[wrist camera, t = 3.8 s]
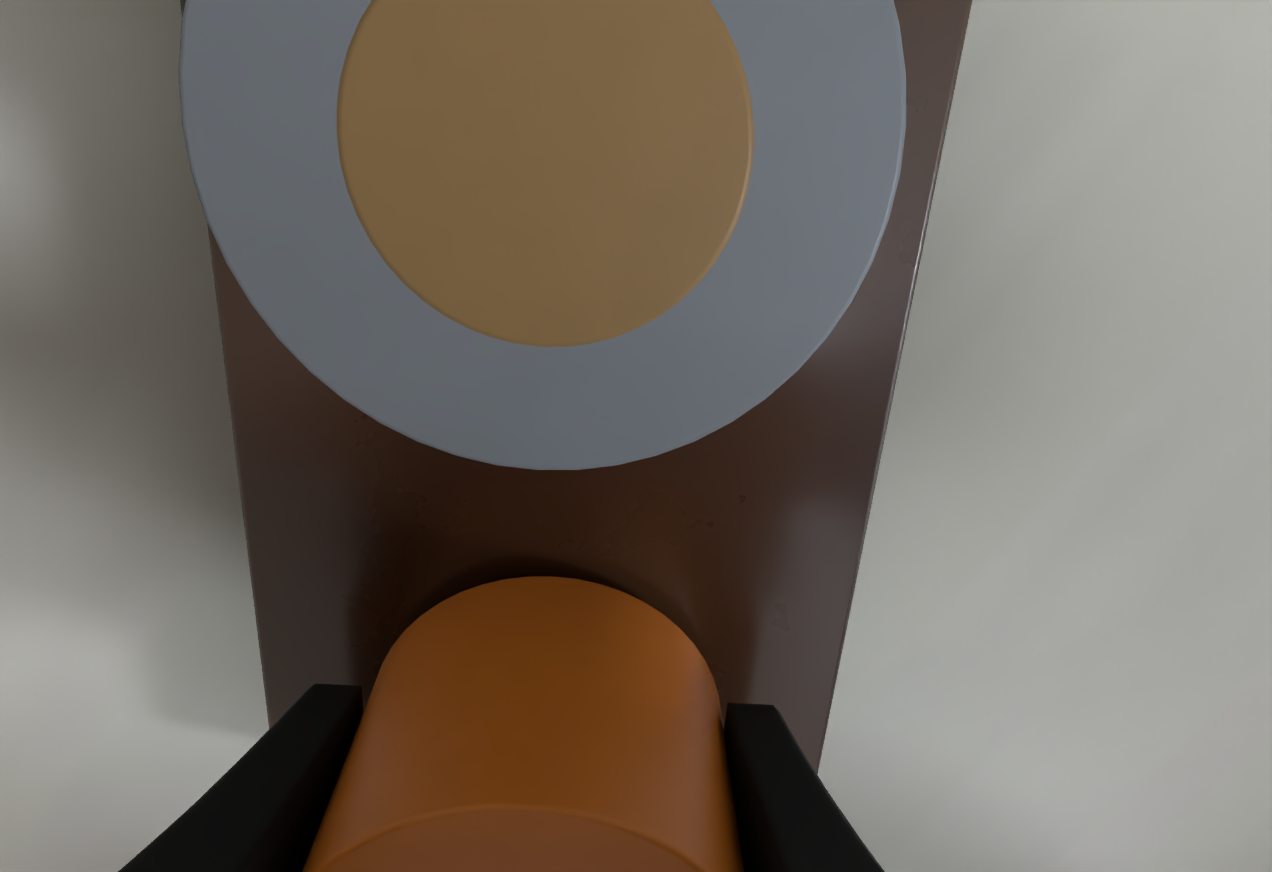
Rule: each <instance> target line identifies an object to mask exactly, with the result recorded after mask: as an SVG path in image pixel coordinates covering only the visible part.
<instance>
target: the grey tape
mask: <svg viewBox="0 0 1272 872" xmlns="http://www.w3.org/2000/svg"><path fill="white" fill-rule="evenodd" d="M179 84H180V99H181V115H182V125H183V131H184V136H185V141H186V146H187V152H188V157H189V162H190V167H191V172H192V175H193V179H194V182H195V185H196V188H197V191H198V194H199V197H200V201H201V204H202V207H203V210H204V213H205V216H206V219H207V221H208V224H209V226H210V228H211V230H212V232H213V235H214V237H215V239H216V241H217V243H218V246H219V248H220V250H221V252H222V254H223V257H224V259H225V261H226V263H227V265H228V266H229V268H230V270H231V271H232V273H233V275H234V276H235V278H236V280H237V281H238V283H239V285H240V286H241V288H242V290H243V291H244V293H245V295H246V296H247V298H248V300H249V301H250V303H251V304H252V306H253V307H254V308H255V309H256V311H257V312H258V313H259V315H260V316H261V317H262V319H263V320H264V321H265V322H266V324H267V325H268V326H269V328H270V329H271V330H272V332H273V333H274V334H275V335H276V337H277V338H278V339H279V340H280V341H281V342H282V343H283V344H284V346H285V347H286V348H287V349H288V350H289V351H290V352H291V353H292V354H293V355H294V356H295V357H296V358H297V359H298V360H299V361H300V362H301V363H302V364H303V365H304V366H305V367H306V368H307V369H308V370H309V371H310V372H311V373H312V374H313V375H315V376H316V377H317V378H318V379H319V380H321V381H322V382H323V383H324V384H326V385H327V386H328V387H329V388H330V389H332V390H333V391H334V392H335V393H337V394H338V395H339V396H340V397H341V398H343V399H344V400H345V401H347V402H348V403H350V404H352V405H353V406H355V407H356V408H358V409H359V410H361V411H362V412H364V413H365V414H367V415H369V416H370V417H372V418H373V419H375V420H376V421H378V422H379V423H381V424H383V425H385V426H387V427H389V428H391V429H393V430H395V431H397V432H399V433H401V434H403V435H405V436H407V437H409V438H411V439H413V440H415V441H417V442H420V443H423V444H426V445H428V446H431V447H434V448H437V449H439V450H442V451H445V452H448V453H451V454H453V455H456V456H460V457H464V458H468V459H472V460H477V461H481V462H485V463H490V464H494V465H499V466H508V467H516V468H525V469H534V470H581V469H589V468H598V467H606V466H614V465H620V464H624V463H628V462H632V461H637V460H641V459H645V458H649V457H653V456H657V455H660V454H662V453H665V452H668V451H670V450H673V449H676V448H678V447H681V446H684V445H686V444H689V443H692V442H694V441H696V440H698V439H700V438H702V437H704V436H706V435H708V434H710V433H712V432H714V431H716V430H718V429H720V428H721V427H723V426H725V425H727V424H729V423H731V422H733V421H734V420H736V419H737V418H738V417H740V416H741V415H743V414H744V413H746V412H747V411H749V410H750V409H752V408H753V407H755V406H756V405H757V404H759V403H760V402H762V401H763V400H765V399H766V398H767V397H768V396H770V395H771V394H772V393H773V392H774V391H775V390H776V389H778V388H779V387H780V386H781V385H782V384H783V383H784V382H785V381H787V380H788V379H789V378H790V377H791V376H792V375H793V374H795V373H796V372H797V371H798V370H799V369H800V368H801V366H802V365H803V364H804V363H805V362H806V361H807V360H808V359H809V358H810V356H811V355H812V354H813V353H814V352H815V351H816V350H817V349H818V347H819V346H820V345H821V344H822V343H823V342H824V341H825V340H826V338H827V337H828V335H829V334H830V333H831V331H832V330H833V328H834V327H835V325H836V324H837V323H838V321H839V320H840V318H841V317H842V315H843V314H844V312H845V311H846V310H847V308H848V307H849V305H850V304H851V302H852V300H853V298H854V297H855V295H856V293H857V291H858V289H859V287H860V285H861V283H862V281H863V280H864V278H865V276H866V274H867V272H868V270H869V268H870V266H871V264H872V262H873V260H874V257H875V255H876V252H877V249H878V247H879V244H880V241H881V239H882V236H883V234H884V231H885V228H886V226H887V223H888V220H889V217H890V213H891V209H892V205H893V201H894V197H895V193H896V189H897V185H898V181H899V176H900V171H901V163H902V155H903V147H904V138H905V130H906V71H905V63H904V56H903V48H902V40H901V32H900V25H899V20H898V16H897V12H896V9H895V5H894V1H893V0H186V2H185V7H184V12H183V17H182V27H181V43H180V59H179Z"/></svg>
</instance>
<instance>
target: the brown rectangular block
mask: <svg viewBox="0 0 1272 872" xmlns="http://www.w3.org/2000/svg"><path fill="white" fill-rule="evenodd" d="M893 1H894V5H895V9H896V12H897V16H898V20H899V25H900V32H901V40H902V48H903V56H904V63H905V71H906V130H905V138H904V147H903V155H902V163H901V171H900V176H899V181H898V185H897V189H896V193H895V197H894V201H893V205H892V209H891V213H890V217H889V220H888V223H887V226H886V228H885V231H884V234H883V236H882V239H881V241H880V244H879V247H878V249H877V252H876V255H875V257H874V260H873V262H872V264H871V266H870V268H869V270H868V272H867V274H866V276H865V278H864V280H863V281H862V283H861V285H860V287H859V289H858V291H857V293H856V295H855V297H854V298H853V300H852V302H851V304H850V305H849V307H848V308H847V310H846V311H845V312H844V314H843V315H842V317H841V318H840V320H839V321H838V323H837V324H836V325H835V327H834V328H833V330H832V331H831V333H830V334H829V335H828V337H827V338H826V340H825V341H824V342H823V343H822V344H821V345H820V346H819V347H818V349H817V350H816V351H815V352H814V353H813V354H812V355H811V356H810V358H809V359H808V360H807V361H806V362H805V363H804V364H803V365H802V366H801V368H800V369H799V370H798V371H797V372H796V373H795V374H793V375H792V376H791V377H790V378H789V379H788V380H787V381H785V382H784V383H783V384H782V385H781V386H780V387H779V388H778V389H776V390H775V391H774V392H773V393H772V394H771V395H770V396H768V397H767V398H766V399H765V400H763V401H762V402H760V403H759V404H757V405H756V406H755V407H753V408H752V409H750V410H749V411H747V412H746V413H744V414H743V415H741V416H740V417H738V418H737V419H736V420H734V421H733V422H731V423H729V424H727V425H725V426H723V427H721V428H720V429H718V430H716V431H714V432H712V433H710V434H708V435H706V436H704V437H702V438H700V439H698V440H696V441H694V442H692V443H689V444H686V445H684V446H681V447H678V448H676V449H673V450H670V451H668V452H665V453H662V454H660V455H657V456H653V457H649V458H645V459H641V460H637V461H632V462H628V463H624V464H620V465H614V466H606V467H598V468H589V469H581V470H534V469H525V468H516V467H508V466H499V465H494V464H490V463H485V462H481V461H477V460H472V459H468V458H464V457H460V456H456V455H453V454H451V453H448V452H445V451H442V450H439V449H437V448H434V447H431V446H428V445H426V444H423V443H420V442H417V441H415V440H413V439H411V438H409V437H407V436H405V435H403V434H401V433H399V432H397V431H395V430H393V429H391V428H389V427H387V426H385V425H383V424H381V423H379V422H378V421H376V420H375V419H373V418H372V417H370V416H369V415H367V414H365V413H364V412H362V411H361V410H359V409H358V408H356V407H355V406H353V405H352V404H350V403H348V402H347V401H345V400H344V399H343V398H341V397H340V396H339V395H338V394H337V393H335V392H334V391H333V390H332V389H330V388H329V387H328V386H327V385H326V384H324V383H323V382H322V381H321V380H319V379H318V378H317V377H316V376H315V375H313V374H312V373H311V372H310V371H309V370H308V369H307V368H306V367H305V366H304V365H303V364H302V363H301V362H300V361H299V360H298V359H297V358H296V357H295V356H294V355H293V354H292V353H291V352H290V351H289V350H288V349H287V348H286V347H285V346H284V344H283V343H282V342H281V341H280V340H279V339H278V338H277V337H276V335H275V334H274V333H273V332H272V330H271V329H270V328H269V326H268V325H267V324H266V322H265V321H264V320H263V319H262V317H261V316H260V315H259V313H258V312H257V311H256V309H255V308H254V307H253V306H252V304H251V303H250V301H249V300H248V298H247V296H246V295H245V293H244V291H243V290H242V288H241V286H240V285H239V283H238V281H237V280H236V278H235V276H234V275H233V273H232V271H231V270H230V268H229V266H228V265H227V263H226V261H225V259H224V257H223V254H222V252H221V250H220V248H219V246H218V243H217V241H216V239H215V237H214V235H213V232H212V230H211V228H210V226H209V224H208V231H209V239H210V247H211V255H212V264H213V272H214V280H215V288H216V296H217V304H218V313H219V321H220V329H221V337H222V345H223V353H224V362H225V370H226V378H227V386H228V394H229V402H230V411H231V419H232V427H233V435H234V443H235V451H236V460H237V468H238V476H239V484H240V492H241V500H242V509H243V517H244V525H245V533H246V541H247V549H248V558H249V566H250V574H251V582H252V590H253V598H254V607H255V615H256V623H257V631H258V639H259V648H260V656H261V664H262V672H263V680H264V688H265V696H266V705H267V713H268V721H269V729H270V728H271V727H272V726H273V725H274V724H275V723H276V722H277V721H278V720H279V719H280V718H281V717H282V716H283V715H284V713H285V712H286V711H287V710H288V709H289V708H290V707H291V706H292V705H293V704H294V703H295V702H296V701H297V700H298V699H299V698H300V697H301V696H302V695H303V694H304V692H305V691H306V690H308V689H309V688H310V687H311V686H312V685H314V684H335V685H357V686H362V696H363V711H364V710H365V707H366V705H367V702H368V699H369V697H370V694H371V692H372V689H373V686H374V684H375V681H376V679H377V676H378V674H379V671H380V668H381V666H382V663H383V661H384V660H385V658H386V656H387V654H388V653H389V651H390V649H391V647H392V646H393V644H394V643H395V642H396V641H397V640H398V638H399V637H400V636H401V635H402V633H403V632H404V631H405V630H406V629H407V628H408V627H409V626H410V625H411V624H412V623H413V622H414V621H416V620H417V619H418V618H419V617H420V616H421V615H423V614H424V613H426V612H427V611H428V610H430V609H431V608H433V607H434V606H436V605H437V604H439V603H440V602H442V601H444V600H446V599H448V598H450V597H452V596H454V595H456V594H458V593H460V592H462V591H465V590H468V589H471V588H473V587H476V586H479V585H482V584H486V583H490V582H495V581H499V580H503V579H510V578H519V577H527V576H556V577H565V578H574V579H580V580H585V581H589V582H594V583H598V584H602V585H605V586H608V587H611V588H614V589H617V590H620V591H622V592H625V593H627V594H629V595H631V596H633V597H635V598H637V599H639V600H641V601H643V602H645V603H647V604H648V605H650V606H651V607H653V608H654V609H656V610H658V611H659V612H661V613H662V614H664V615H665V616H666V617H667V618H668V619H670V620H671V621H672V622H673V623H674V624H675V625H677V626H678V627H679V628H680V629H681V630H682V631H683V632H684V633H685V634H686V636H687V637H688V638H689V639H690V640H691V641H692V642H693V643H694V644H695V646H696V647H697V649H698V650H699V652H700V653H701V655H702V656H703V658H704V659H705V661H706V663H707V665H708V667H709V669H710V672H711V674H712V676H713V678H714V681H715V685H716V688H717V692H718V695H719V701H720V708H721V715H722V722H723V729H724V724H725V717H726V710H727V703H745V704H766V705H774V706H775V707H776V708H777V710H778V711H779V712H780V713H781V715H782V717H783V719H784V720H785V722H786V724H787V726H788V728H789V729H790V731H791V733H792V734H793V736H794V738H795V740H796V741H797V743H798V745H799V746H800V748H801V750H802V751H803V753H804V755H805V756H806V758H807V760H808V761H809V763H810V764H811V766H812V768H813V769H814V771H815V772H816V774H817V773H818V768H819V764H820V759H821V754H822V749H823V744H824V739H825V734H826V729H827V724H828V719H829V714H830V709H831V704H832V699H833V694H834V689H835V684H836V679H837V674H838V669H839V664H840V659H841V654H842V649H843V644H844V639H845V634H846V629H847V624H848V619H849V614H850V609H851V604H852V599H853V594H854V589H855V584H856V579H857V574H858V569H859V564H860V559H861V554H862V549H863V544H864V539H865V534H866V529H867V524H868V519H869V514H870V509H871V504H872V499H873V494H874V489H875V484H876V479H877V474H878V469H879V464H880V459H881V454H882V449H883V444H884V439H885V434H886V429H887V424H888V419H889V414H890V409H891V404H892V399H893V394H894V389H895V384H896V379H897V374H898V369H899V364H900V359H901V354H902V349H903V344H904V339H905V334H906V329H907V324H908V319H909V314H910V309H911V304H912V299H913V294H914V289H915V284H916V279H917V274H918V269H919V264H920V259H921V254H922V249H923V244H924V239H925V234H926V229H927V224H928V219H929V214H930V209H931V204H932V199H933V194H934V189H935V184H936V179H937V174H938V169H939V164H940V159H941V154H942V149H943V144H944V139H945V134H946V129H947V124H948V119H949V114H950V109H951V104H952V99H953V94H954V89H955V84H956V79H957V74H958V69H959V64H960V59H961V54H962V49H963V44H964V39H965V34H966V29H967V24H968V19H969V14H970V9H971V4H972V0H893ZM180 2H181V10H182V17H183V12H184V7H185V2H186V0H180ZM207 223H208V221H207Z"/></svg>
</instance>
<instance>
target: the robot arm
mask: <svg viewBox="0 0 1272 872" xmlns="http://www.w3.org/2000/svg"><path fill="white" fill-rule="evenodd" d="M363 712H364V711H363V696H362V686H357V685H335V684H314V685H312V686H311V687H310V688H309V689H308V690H306V691H305V692H304V694H303V695H302V696H301V697H300V698H299V699H298V700H297V701H296V702H295V703H294V704H293V705H292V706H291V707H290V708H289V709H288V710H287V711H286V712H285V713H284V715H283V716H282V717H281V718H280V719H279V720H278V721H277V722H276V723H275V724H274V725H273V726H272V727H271V728H270V729H269V730H268V731H267V732H266V733H265V734H264V735H263V736H262V737H261V738H260V739H259V741H258V742H257V743H256V744H255V745H254V746H253V747H252V748H251V749H250V750H249V751H248V752H247V753H246V754H245V755H244V756H243V757H242V758H241V759H240V760H239V761H238V762H237V763H236V764H235V765H234V766H233V767H232V768H231V769H230V770H229V771H228V772H227V773H226V774H225V775H223V776H222V777H221V778H220V779H219V780H218V781H217V782H216V783H215V784H214V785H213V786H212V787H211V788H210V789H209V790H208V791H207V792H206V793H205V794H204V795H203V796H202V797H201V798H200V799H199V800H198V801H197V802H196V803H195V804H194V805H192V806H191V807H190V808H189V809H188V810H187V811H186V812H185V813H184V814H183V815H182V816H181V817H179V818H178V819H177V820H176V821H175V822H174V823H173V824H172V825H170V826H169V827H168V828H167V829H166V830H165V831H164V832H163V833H161V834H160V835H159V836H158V837H157V838H156V839H155V840H154V841H153V842H151V843H150V844H149V845H148V846H147V847H146V848H145V849H144V850H142V851H141V852H140V853H139V854H138V855H137V856H136V857H135V858H133V859H132V860H131V861H130V862H129V863H128V864H126V865H125V866H124V867H123V868H122V869H121V870H119V871H118V872H302V871H303V868H304V865H305V863H306V860H307V858H308V855H309V852H310V850H311V847H312V845H313V842H314V839H315V837H316V834H317V832H318V829H319V826H320V824H321V821H322V819H323V816H324V814H325V811H326V808H327V806H328V803H329V801H330V798H331V795H332V793H333V790H334V788H335V785H336V782H337V780H338V777H339V775H340V772H341V769H342V767H343V764H344V762H345V759H346V756H347V754H348V751H349V749H350V746H351V744H352V741H353V738H354V736H355V733H356V731H357V728H358V725H359V723H360V720H361V718H362V715H363ZM724 736H725V742H726V749H727V756H728V763H729V770H730V777H731V784H732V790H733V797H734V804H735V811H736V818H737V825H738V832H739V838H740V845H741V852H742V859H743V866H744V872H885V871H884V870H883V869H882V868H881V866H880V865H879V864H878V862H877V861H876V860H875V858H874V857H873V856H872V854H871V853H870V851H869V850H868V849H867V847H866V846H865V845H864V843H863V842H862V841H861V839H860V838H859V836H858V835H857V833H856V832H855V830H854V829H853V828H852V826H851V825H850V823H849V822H848V820H847V819H846V818H845V816H844V815H843V813H842V812H841V810H840V809H839V807H838V806H837V805H836V803H835V802H834V800H833V799H832V797H831V796H830V794H829V793H828V791H827V790H826V788H825V787H824V785H823V783H822V782H821V780H820V779H819V777H818V776H817V774H816V772H815V771H814V769H813V768H812V766H811V764H810V763H809V761H808V760H807V758H806V756H805V755H804V753H803V751H802V750H801V748H800V746H799V745H798V743H797V741H796V740H795V738H794V736H793V734H792V733H791V731H790V729H789V728H788V726H787V724H786V722H785V720H784V719H783V717H782V715H781V713H780V712H779V711H778V710H777V708H776V707H775V706H774V705H766V704H745V703H727V710H726V717H725V724H724Z"/></svg>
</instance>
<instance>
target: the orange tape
mask: <svg viewBox="0 0 1272 872" xmlns="http://www.w3.org/2000/svg"><path fill="white" fill-rule="evenodd" d="M302 872H744V866H743V859H742V852H741V845H740V838H739V832H738V825H737V818H736V811H735V804H734V797H733V790H732V784H731V777H730V770H729V763H728V756H727V749H726V742H725V736H724V729H723V722H722V715H721V708H720V701H719V695H718V692H717V688H716V685H715V681H714V678H713V676H712V674H711V672H710V669H709V667H708V665H707V663H706V661H705V659H704V658H703V656H702V655H701V653H700V652H699V650H698V649H697V647H696V646H695V644H694V643H693V642H692V641H691V640H690V639H689V638H688V637H687V636H686V634H685V633H684V632H683V631H682V630H681V629H680V628H679V627H678V626H677V625H675V624H674V623H673V622H672V621H671V620H670V619H668V618H667V617H666V616H665V615H664V614H662V613H661V612H659V611H658V610H656V609H654V608H653V607H651V606H650V605H648V604H647V603H645V602H643V601H641V600H639V599H637V598H635V597H633V596H631V595H629V594H627V593H625V592H622V591H620V590H617V589H614V588H611V587H608V586H605V585H602V584H598V583H594V582H589V581H585V580H580V579H574V578H565V577H556V576H527V577H519V578H510V579H503V580H499V581H495V582H490V583H486V584H482V585H479V586H476V587H473V588H471V589H468V590H465V591H462V592H460V593H458V594H456V595H454V596H452V597H450V598H448V599H446V600H444V601H442V602H440V603H439V604H437V605H436V606H434V607H433V608H431V609H430V610H428V611H427V612H426V613H424V614H423V615H421V616H420V617H419V618H418V619H417V620H416V621H414V622H413V623H412V624H411V625H410V626H409V627H408V628H407V629H406V630H405V631H404V632H403V633H402V635H401V636H400V637H399V638H398V640H397V641H396V642H395V643H394V644H393V646H392V647H391V649H390V651H389V653H388V654H387V656H386V658H385V660H384V661H383V663H382V666H381V668H380V671H379V674H378V676H377V679H376V681H375V684H374V686H373V689H372V692H371V694H370V697H369V699H368V702H367V705H366V707H365V710H364V712H363V715H362V718H361V720H360V723H359V725H358V728H357V731H356V733H355V736H354V738H353V741H352V744H351V746H350V749H349V751H348V754H347V756H346V759H345V762H344V764H343V767H342V769H341V772H340V775H339V777H338V780H337V782H336V785H335V788H334V790H333V793H332V795H331V798H330V801H329V803H328V806H327V808H326V811H325V814H324V816H323V819H322V821H321V824H320V826H319V829H318V832H317V834H316V837H315V839H314V842H313V845H312V847H311V850H310V852H309V855H308V858H307V860H306V863H305V865H304V868H303V871H302Z"/></svg>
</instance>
